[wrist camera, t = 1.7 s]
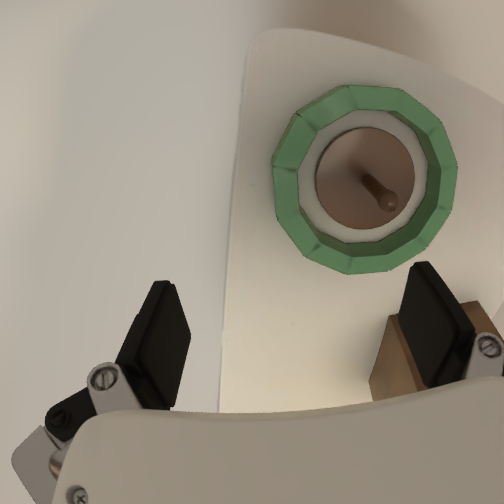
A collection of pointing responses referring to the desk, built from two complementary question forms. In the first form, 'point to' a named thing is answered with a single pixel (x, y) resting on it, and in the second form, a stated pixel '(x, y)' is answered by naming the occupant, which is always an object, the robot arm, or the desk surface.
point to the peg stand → (364, 178)
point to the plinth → (411, 357)
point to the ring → (402, 241)
